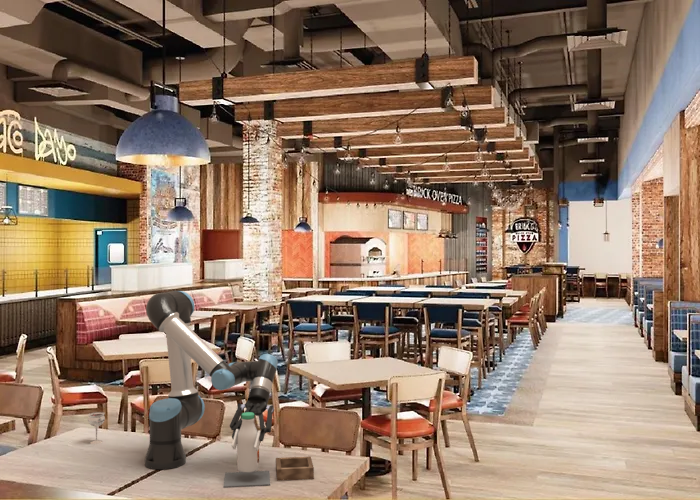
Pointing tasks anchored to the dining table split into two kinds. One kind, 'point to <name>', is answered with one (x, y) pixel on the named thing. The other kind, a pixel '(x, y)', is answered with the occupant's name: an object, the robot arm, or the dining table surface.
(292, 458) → the walnut collar
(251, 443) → the milk bottle
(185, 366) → the robot arm
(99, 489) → the dining table surface
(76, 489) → the dining table surface
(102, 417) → the wineglass
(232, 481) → the slate mat
